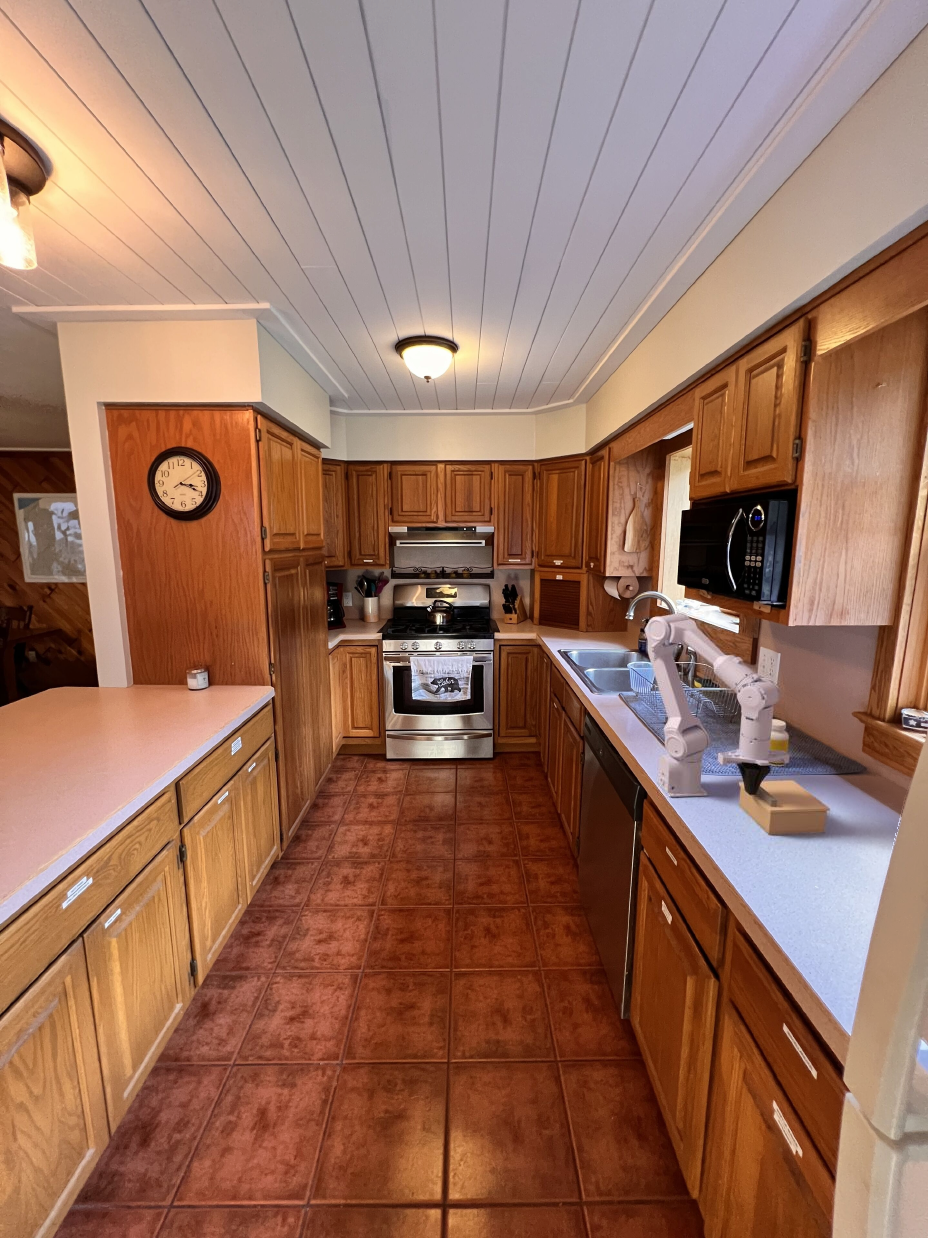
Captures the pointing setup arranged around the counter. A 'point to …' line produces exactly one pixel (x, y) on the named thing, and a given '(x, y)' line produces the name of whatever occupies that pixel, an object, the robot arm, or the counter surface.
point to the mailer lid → (786, 797)
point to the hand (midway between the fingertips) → (750, 792)
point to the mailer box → (782, 818)
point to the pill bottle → (778, 739)
